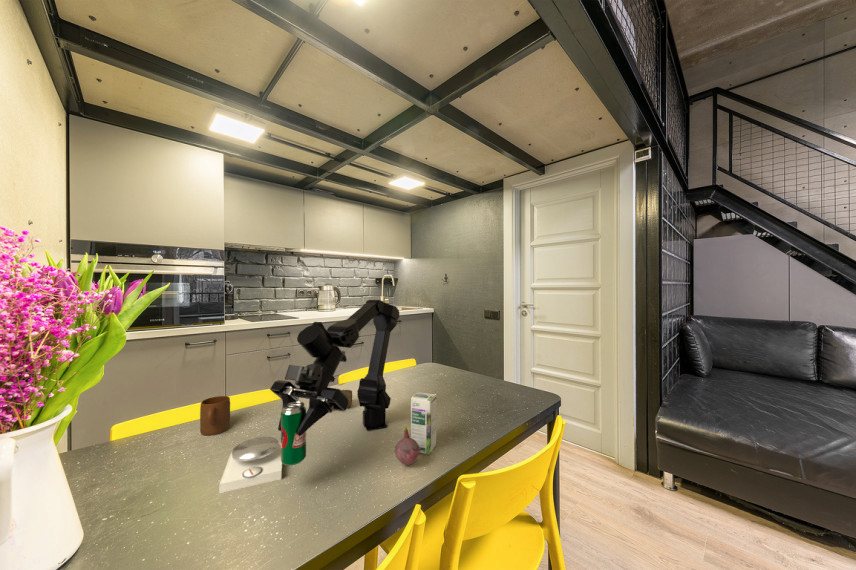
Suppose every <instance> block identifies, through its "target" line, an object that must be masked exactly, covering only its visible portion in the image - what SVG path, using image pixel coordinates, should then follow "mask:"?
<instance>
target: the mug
mask: <svg viewBox="0 0 856 570" xmlns="http://www.w3.org/2000/svg"><path fill="white" fill-rule="evenodd" d="M230 399H231V398H230V397H229V396H227V395H218V396H212V397H208V398H206V399H205V398H204V399H203V400H202V401H201V402H200V410H199V417H200V418H199V425H200V426H199V428H200V429H199V431H200V434H201V435H202V436H215V435H219V434H222V433H224V432H226V431H228V430H229V428H230V426H231V400H230Z"/></svg>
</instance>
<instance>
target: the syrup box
mask: <svg viewBox="0 0 856 570" xmlns="http://www.w3.org/2000/svg"><path fill="white" fill-rule="evenodd" d="M410 438H412V439H414V440H415V441H416V442H417V443H418V445H419V449H420V453H422V454H423V455H425V454H426V455H429V456H430V455H431V454H432V452H433V451H434V449H435V448H436V445H437V394H436V393H426V392H421V391H418V392H416V393H415V394H414V395H412V397H411V398H410ZM420 453H419V454H420Z"/></svg>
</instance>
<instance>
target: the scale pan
mask: <svg viewBox="0 0 856 570" xmlns="http://www.w3.org/2000/svg"><path fill="white" fill-rule="evenodd" d="M278 443H279V440H278V438H276V437H273V436H272V437H271V436H260V437H254V438H251V439H247V440H245V441H243V442H241V443H238V444H237V445H236V446H235V447H234V448H233V449H232V451H231V452H232V458H233V459H234V460H237V461H253V460H257V459H261V458H263V457H266V456H268V455H270V454H272V453H273V452H274V451H275V450H276V449H277V448H278Z"/></svg>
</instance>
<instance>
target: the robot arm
mask: <svg viewBox="0 0 856 570" xmlns="http://www.w3.org/2000/svg"><path fill="white" fill-rule="evenodd" d="M399 318H400V310H399V309H398V308H397V306H396V305H393V304H389V303H387V302H385V301H383V300H381V299H369V300H366V301H365V303H364V304H363V305H362V306H361V307H359V309H357V310H356V311H355V312H354V313H352V314H351V315H350V316H349V317H348V318H346V319H343V320H340V321H337V322H335V323H333V324H331V325H329V326H328V327H327V329H326V328H325V326H324V324H323V323H322V321H314V322H313V323H312V324H310V325H309V326H308V325H307V326H306V327H305V328H304V329H303V330H301V331H299V333H298V334H297V339H296V341H297V342H298V344H299V345H300V346H301V347H302V348H303V349H304V351H305V352H306V353H308V355H309V356H310V357H311V358H315V359H314V361H313V363H310V364H307V365H306V366H302V365H295V364H288V367H287V370H286V373H285V376H284V380H280V379H278V380H276V381H274V382H273V384H272V385H271V387H269V390H270V391H271V392H272V393H273V394H274V395H276V396H277V397H278V398H279V399H281V401H282V408H281V410H282V409H283V406H284V405H285V404H287V403H291V402H299V399H307V400H308V401H309V399H310V401H309V402H308V409H307V410H306V414H305V416H304V418H303V420H302V422H301V424H300V426H299V429H298V431H297V435H299V436H301V435H302V434H303V433H304V432H305V431H306V432H307V431H308V430H309V429H310V428H311V427H312V426H314V425H315V424H316V423H317V422H318V421H319V420H321V419H322V418H323V417H325V416H326V415H328V414H331V413H332V412H333V410H332V409H331V408H332V406H333V407H334V409H335V410H334V411H340V412H346V410H347V409H348V408H347V406H348V398H347V397H346V396H345V395H344V394H343V392H342V391H341V390H342V389H340V388H334V387H328V386H329V384H330V383H335V380H336V377H334V374H335V373H336V371H337V369H338V366H339V364H340V363H341V362H343V363H346V362H347V356H346V351H344V350H341V348H347V349H348V348H352V347H353V346H354V345H355V344H356V342H357V341H358V340H359V338H360V332H361V330H362V329H363V328H364V327H365V326H366V325H367V324H369V322H370V321H372V323H373V325H374V328H375V334H374V339H373V344H372V350H371V354H370V355H371V356H370V360H369V366H368V370H367V374H366V375H365V376H364V378H363V377H361V378H360V380H359V382H358V383H359V385H358V389H357V394H356V395H357V400H358V405H359V407H361V408H362V407H363V408H364V409H363V410H362V425H363V427H364V428H365V430H366V431H373V430H378V429H385V428H388V424H387V423H386V419H387V418H386V417H387V415H386V413H387V411H386V409H389V408H390V407H389V406H390V404H391V400H392V398H391V397H390V395H389V394H388V393H387V391H386V390H387V384H386V380H385V378H384V371H385V365H386V360H387V359H386V358H387V355H388V354H387V353H388V349H389V348H388V347H389V342H390V338H391V337H390V336H391V333H392V331H393V330H394V329H395V328H396V326H397V325H398V321H399ZM289 380H291V381H295V382H294V384H295V385H296V386H299V387H296V386H295V385H294V384H293V383H292V382H291V381H289ZM279 417H280V418H279V422H278V427H277V430H278V431H279V432H281V416H279Z"/></svg>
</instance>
